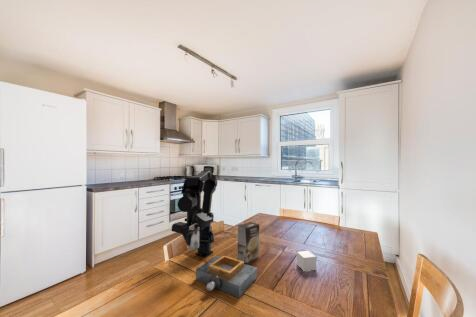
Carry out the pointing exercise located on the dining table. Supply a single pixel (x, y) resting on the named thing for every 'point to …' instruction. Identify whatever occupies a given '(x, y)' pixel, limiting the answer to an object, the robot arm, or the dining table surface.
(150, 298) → the dining table surface
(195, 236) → the silver calibration weight
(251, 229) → the coffee box
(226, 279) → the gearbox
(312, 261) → the adhesive note
